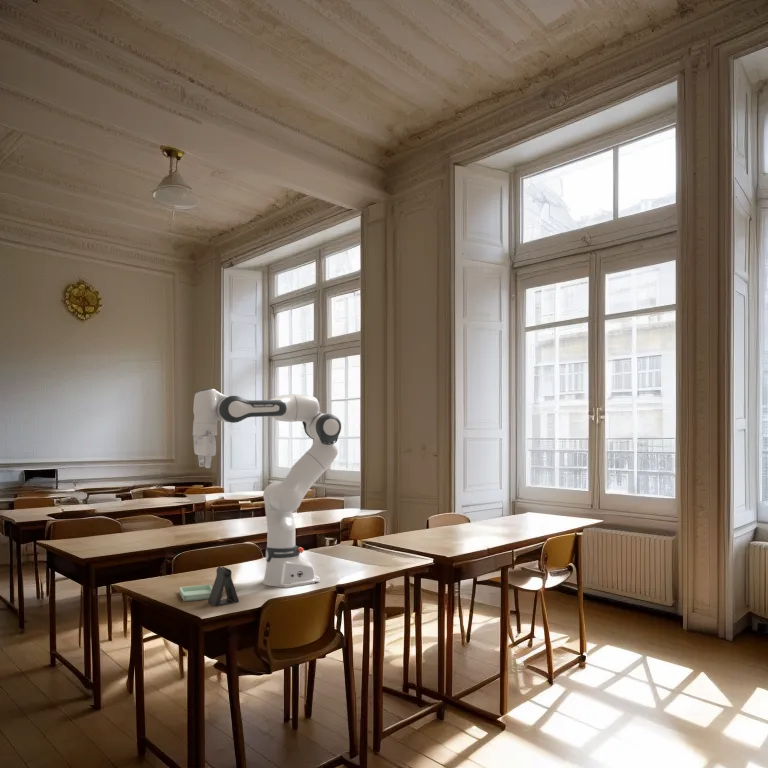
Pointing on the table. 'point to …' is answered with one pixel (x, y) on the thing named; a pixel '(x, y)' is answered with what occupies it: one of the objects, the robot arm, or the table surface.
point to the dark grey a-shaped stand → (220, 582)
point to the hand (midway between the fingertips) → (204, 467)
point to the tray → (195, 592)
